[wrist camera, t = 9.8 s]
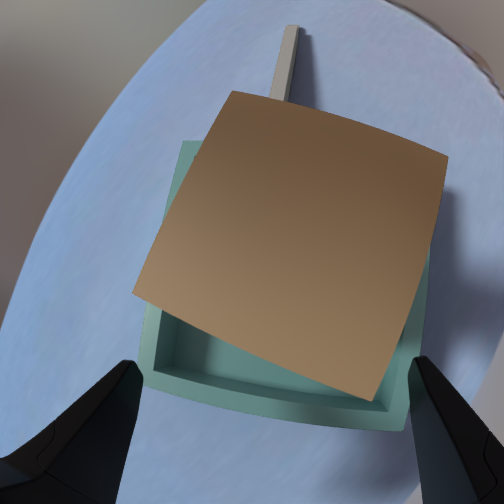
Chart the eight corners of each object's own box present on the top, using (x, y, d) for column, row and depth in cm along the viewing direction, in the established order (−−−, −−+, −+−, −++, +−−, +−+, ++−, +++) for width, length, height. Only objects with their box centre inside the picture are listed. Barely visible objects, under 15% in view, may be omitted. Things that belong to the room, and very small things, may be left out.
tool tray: (388, 412, 16) (402, 431, 12) (163, 374, 19) (135, 382, 15) (412, 185, 18) (428, 160, 15) (202, 166, 21) (183, 140, 18)
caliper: (272, 255, 20) (253, 236, 14) (256, 253, 21) (229, 233, 15) (300, 28, 23) (292, -25, 17) (287, 28, 23) (277, -24, 17)
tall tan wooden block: (324, 365, 16) (348, 494, 3) (250, 334, 17) (84, 361, 4) (368, 256, 17) (475, 102, 4) (295, 229, 18) (244, 38, 5)
